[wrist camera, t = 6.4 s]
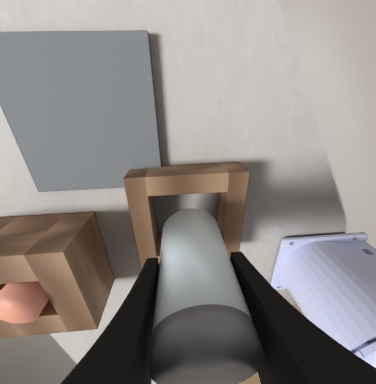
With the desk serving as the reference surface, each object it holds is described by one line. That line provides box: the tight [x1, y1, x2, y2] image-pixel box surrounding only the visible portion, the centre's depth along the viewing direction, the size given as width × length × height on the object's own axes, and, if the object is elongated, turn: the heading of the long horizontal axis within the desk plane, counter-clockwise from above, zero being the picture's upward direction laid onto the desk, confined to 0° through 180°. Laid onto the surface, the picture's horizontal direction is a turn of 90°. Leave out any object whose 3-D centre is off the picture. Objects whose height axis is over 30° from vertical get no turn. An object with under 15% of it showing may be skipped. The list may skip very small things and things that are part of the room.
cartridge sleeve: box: [123, 162, 249, 269], centre depth 16 cm, size 9×9×2 cm
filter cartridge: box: [149, 209, 265, 384], centre depth 10 cm, size 4×4×8 cm
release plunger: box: [0, 281, 49, 324], centre depth 15 cm, size 3×3×5 cm
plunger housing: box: [0, 212, 114, 338], centre depth 16 cm, size 9×9×5 cm
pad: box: [0, 30, 161, 192], centre depth 13 cm, size 10×10×1 cm
